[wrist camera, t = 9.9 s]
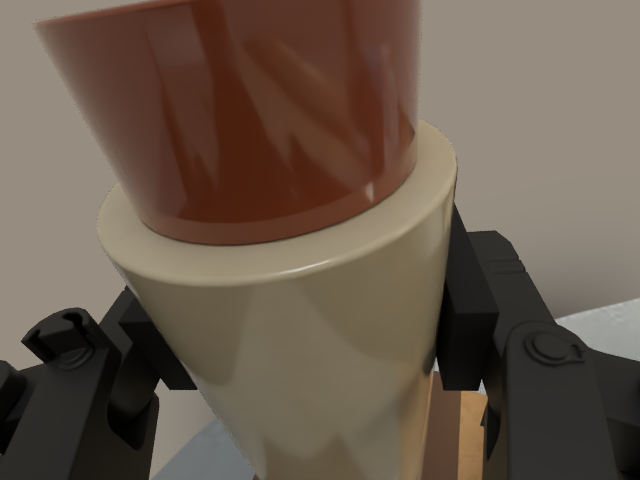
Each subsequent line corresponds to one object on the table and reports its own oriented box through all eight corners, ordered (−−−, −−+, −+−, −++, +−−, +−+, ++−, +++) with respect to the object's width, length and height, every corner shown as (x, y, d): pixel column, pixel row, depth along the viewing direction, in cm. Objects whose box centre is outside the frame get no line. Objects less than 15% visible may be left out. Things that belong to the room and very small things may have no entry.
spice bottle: (431, 392, 15) (482, -60, 6) (410, 582, 10) (491, -60, 1) (300, 360, 17) (188, -8, 8) (237, 507, 12) (-175, 56, 3)
